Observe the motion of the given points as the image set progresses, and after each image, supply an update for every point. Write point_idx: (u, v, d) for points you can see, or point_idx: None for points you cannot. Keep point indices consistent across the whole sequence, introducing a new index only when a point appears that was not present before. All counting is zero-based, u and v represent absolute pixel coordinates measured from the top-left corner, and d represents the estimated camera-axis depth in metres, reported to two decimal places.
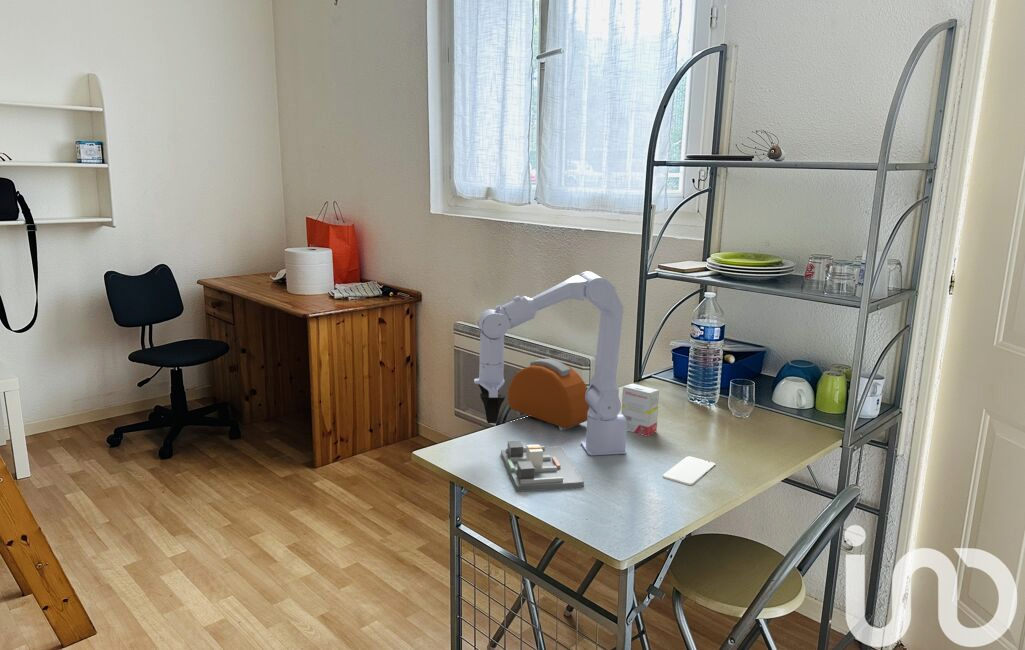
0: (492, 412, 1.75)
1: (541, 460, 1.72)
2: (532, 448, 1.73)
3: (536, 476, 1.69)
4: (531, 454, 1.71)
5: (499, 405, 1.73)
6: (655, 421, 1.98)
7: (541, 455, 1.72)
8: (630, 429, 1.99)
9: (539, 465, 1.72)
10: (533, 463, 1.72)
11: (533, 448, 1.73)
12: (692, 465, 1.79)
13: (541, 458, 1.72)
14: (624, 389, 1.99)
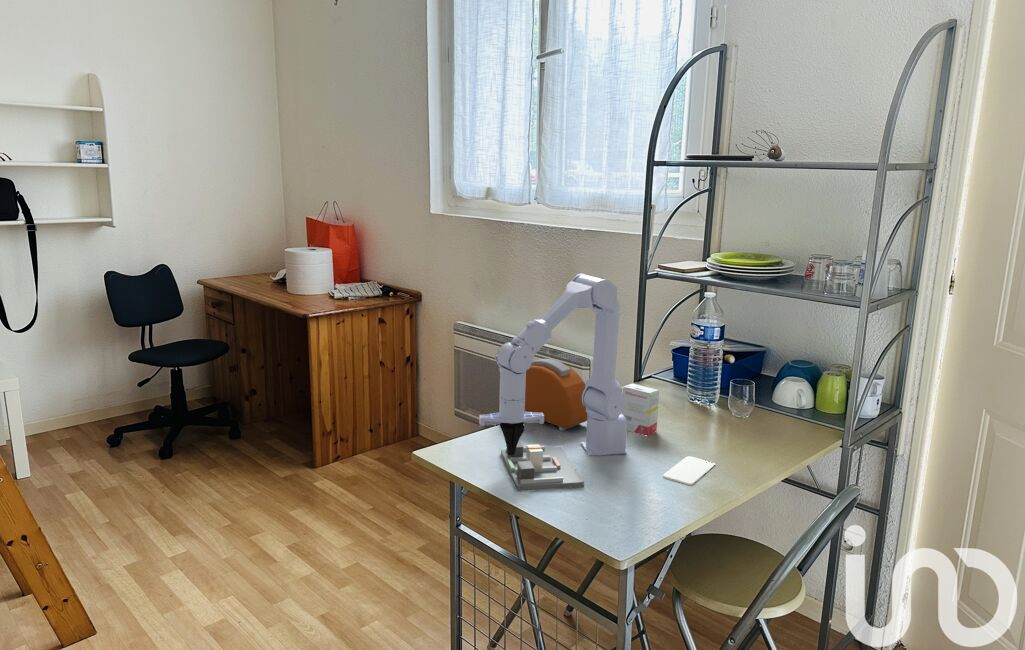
0: None
1: (541, 460, 1.72)
2: (532, 448, 1.73)
3: (536, 476, 1.69)
4: (531, 454, 1.71)
5: (504, 437, 1.69)
6: (655, 421, 1.98)
7: (541, 455, 1.72)
8: (630, 429, 1.99)
9: (539, 465, 1.72)
10: (533, 463, 1.72)
11: (533, 448, 1.73)
12: (692, 465, 1.79)
13: (541, 458, 1.72)
14: (624, 389, 1.99)
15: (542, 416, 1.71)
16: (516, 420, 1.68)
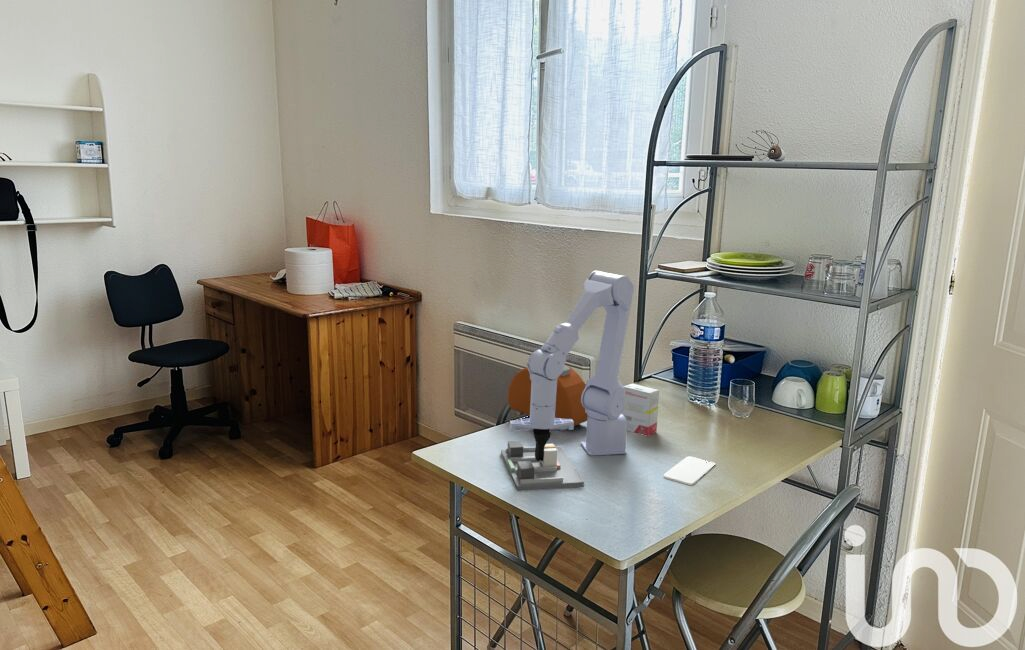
0: None
1: (555, 459, 1.73)
2: (546, 447, 1.73)
3: (536, 476, 1.69)
4: (545, 453, 1.72)
5: (537, 442, 1.71)
6: (655, 421, 1.98)
7: (555, 454, 1.72)
8: (630, 429, 1.99)
9: (553, 464, 1.73)
10: (547, 462, 1.72)
11: (547, 447, 1.73)
12: (692, 465, 1.79)
13: (555, 457, 1.73)
14: None
15: (572, 422, 1.72)
16: (547, 426, 1.69)
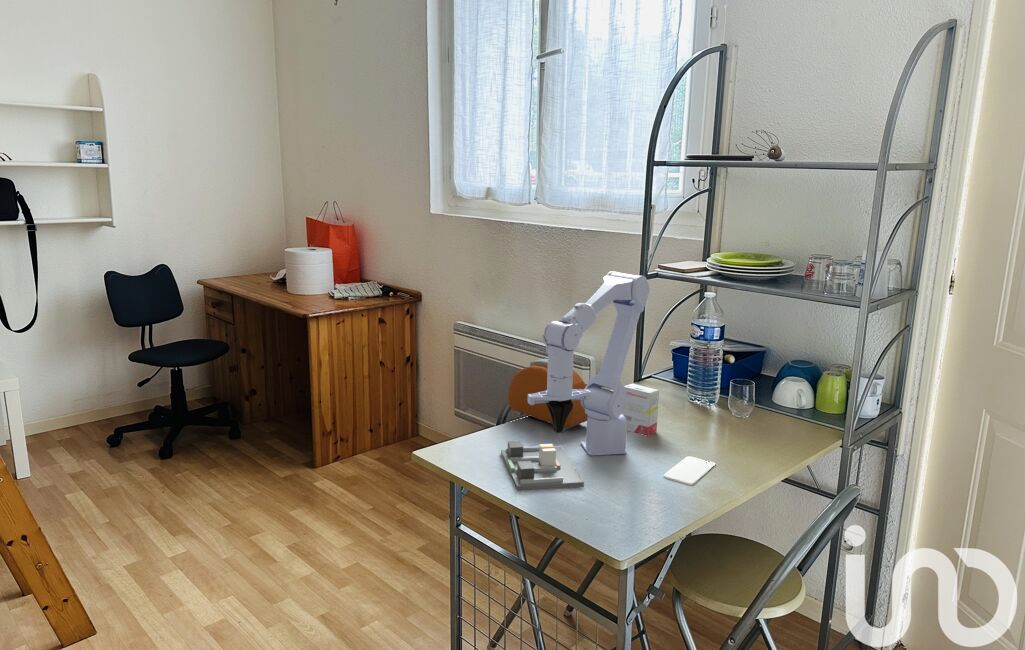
0: (555, 420, 1.73)
1: (554, 459, 1.73)
2: (545, 447, 1.73)
3: (536, 476, 1.69)
4: (544, 453, 1.72)
5: (553, 414, 1.70)
6: (655, 421, 1.98)
7: (554, 454, 1.72)
8: (630, 429, 1.99)
9: (552, 464, 1.73)
10: (546, 462, 1.72)
11: (546, 447, 1.73)
12: (692, 465, 1.79)
13: (554, 457, 1.72)
14: None
15: (589, 393, 1.72)
16: (566, 397, 1.69)
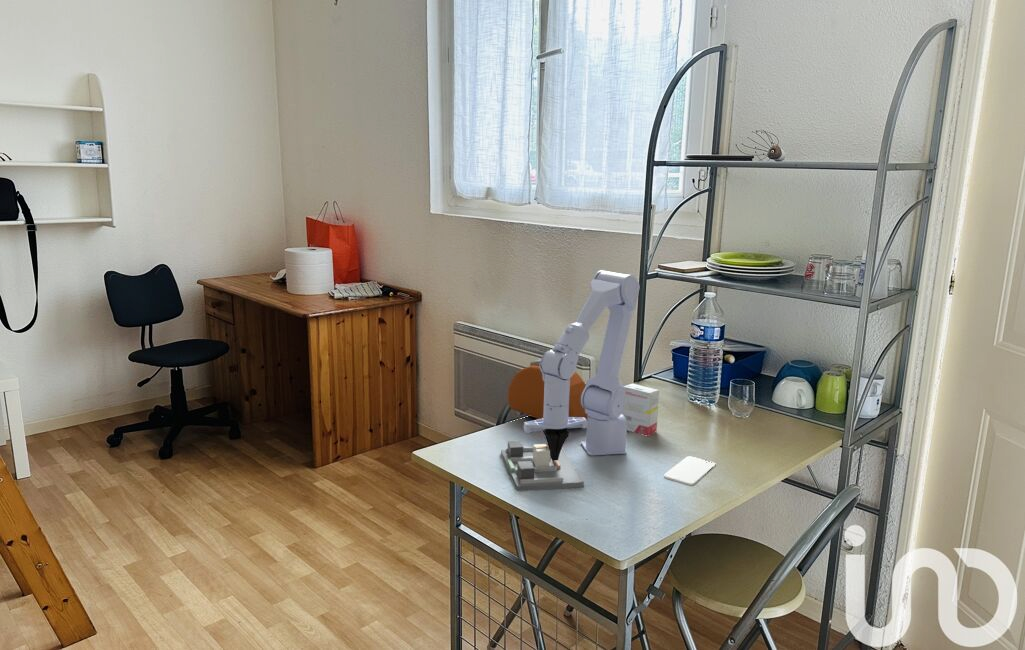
0: (551, 448, 1.74)
1: (548, 460, 1.72)
2: (539, 448, 1.73)
3: (536, 476, 1.69)
4: (538, 454, 1.72)
5: (549, 442, 1.72)
6: (655, 421, 1.98)
7: (548, 455, 1.72)
8: (630, 429, 1.99)
9: (546, 465, 1.73)
10: (540, 463, 1.72)
11: (540, 448, 1.73)
12: (693, 465, 1.79)
13: (548, 458, 1.72)
14: None
15: (585, 421, 1.74)
16: (561, 426, 1.70)
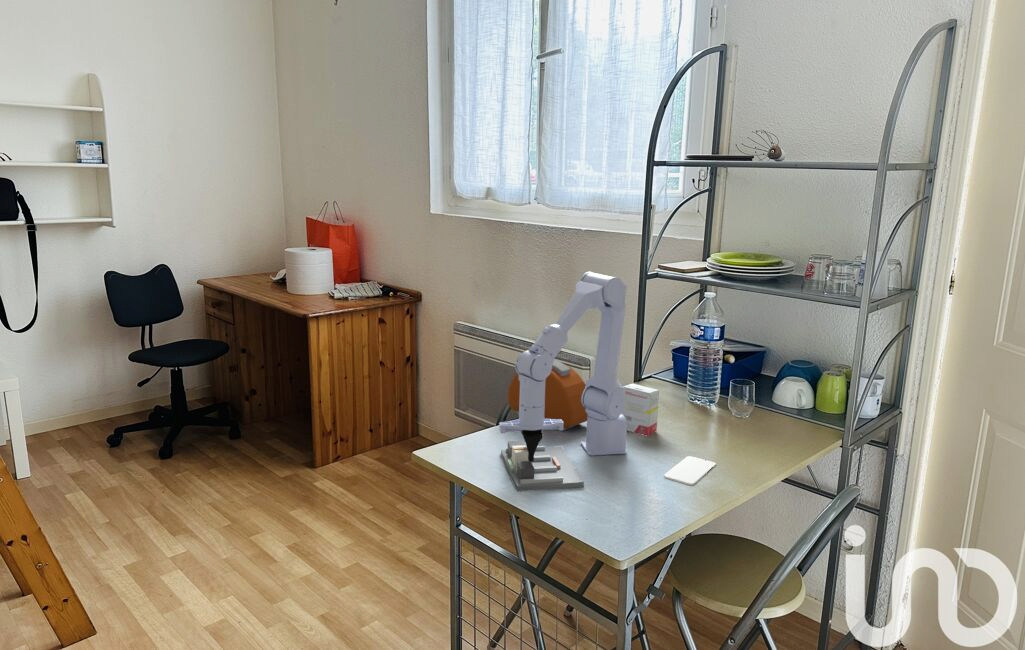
0: None
1: None
2: (517, 449, 1.72)
3: (536, 476, 1.69)
4: (516, 455, 1.71)
5: (526, 443, 1.71)
6: (655, 421, 1.98)
7: (526, 456, 1.71)
8: (630, 429, 1.99)
9: None
10: None
11: (518, 449, 1.72)
12: (693, 465, 1.79)
13: (526, 459, 1.71)
14: (624, 389, 1.99)
15: (561, 423, 1.72)
16: (536, 427, 1.69)
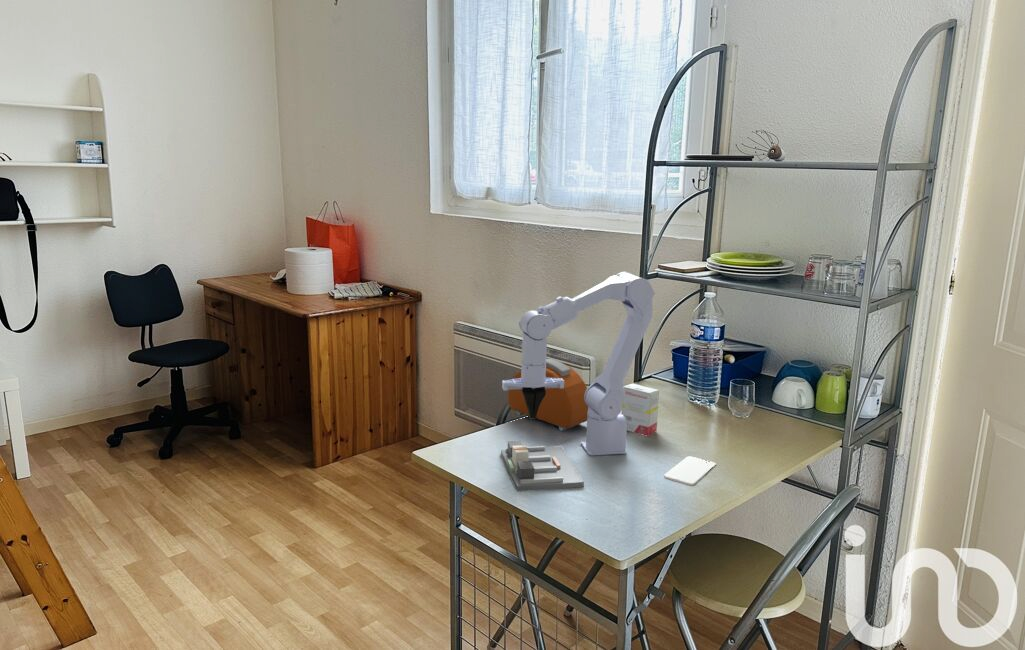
0: (529, 407, 1.79)
1: None
2: (518, 449, 1.72)
3: (536, 476, 1.69)
4: (517, 455, 1.71)
5: (526, 401, 1.77)
6: (655, 421, 1.98)
7: (527, 456, 1.71)
8: (630, 429, 1.99)
9: None
10: None
11: (519, 449, 1.72)
12: (693, 465, 1.79)
13: (527, 459, 1.71)
14: (624, 389, 1.99)
15: (562, 381, 1.78)
16: (538, 384, 1.75)
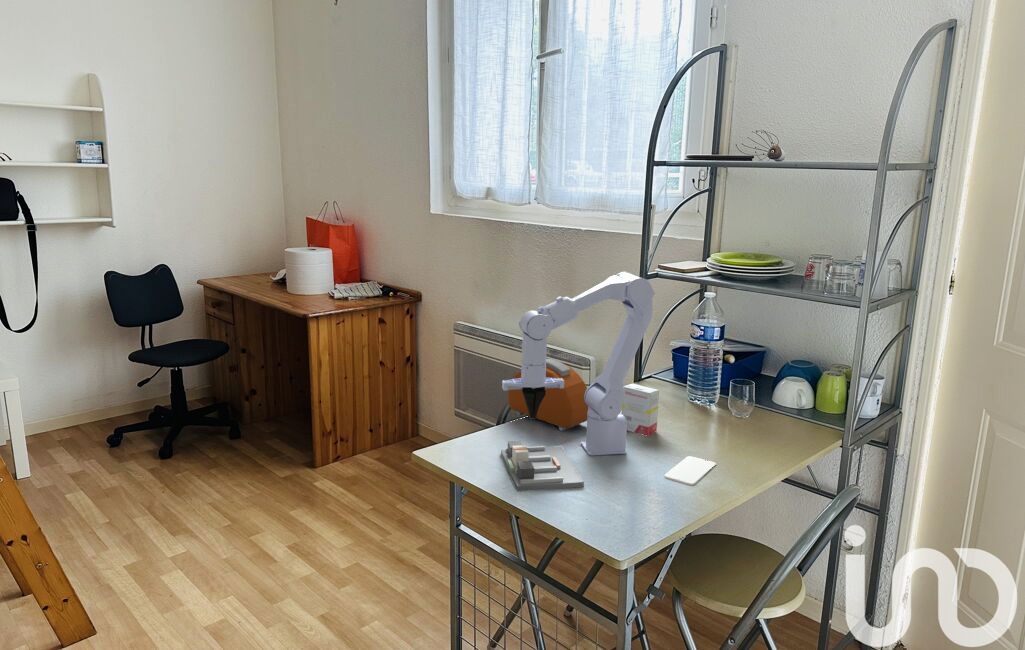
0: (529, 407, 1.79)
1: None
2: (518, 449, 1.72)
3: (536, 476, 1.69)
4: (517, 455, 1.71)
5: (526, 401, 1.77)
6: (655, 421, 1.98)
7: (527, 456, 1.71)
8: (630, 429, 1.99)
9: None
10: None
11: (519, 449, 1.72)
12: (693, 465, 1.79)
13: (527, 459, 1.71)
14: (624, 389, 1.99)
15: (562, 381, 1.78)
16: (538, 384, 1.75)
